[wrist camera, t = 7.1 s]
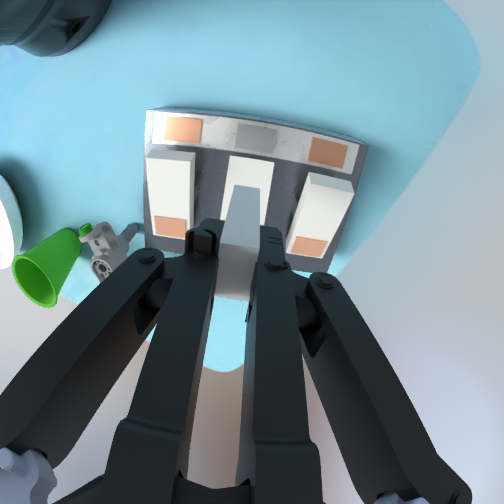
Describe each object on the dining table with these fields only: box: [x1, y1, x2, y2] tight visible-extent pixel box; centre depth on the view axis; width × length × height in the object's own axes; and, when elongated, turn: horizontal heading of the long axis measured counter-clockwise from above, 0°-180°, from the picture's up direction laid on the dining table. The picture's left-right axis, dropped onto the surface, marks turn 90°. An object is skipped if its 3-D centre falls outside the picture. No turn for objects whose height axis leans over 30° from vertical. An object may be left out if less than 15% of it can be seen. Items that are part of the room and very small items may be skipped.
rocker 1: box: [146, 149, 195, 240], centre depth 25 cm, size 9×4×2 cm, turn 171°
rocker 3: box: [286, 172, 355, 258], centre depth 26 cm, size 9×4×2 cm, turn 171°
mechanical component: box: [78, 222, 139, 283], centre depth 31 cm, size 3×10×10 cm, turn 15°
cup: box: [12, 229, 81, 308], centre depth 32 cm, size 9×9×11 cm
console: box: [143, 107, 368, 273], centre depth 29 cm, size 16×22×6 cm
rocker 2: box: [220, 155, 274, 225], centre depth 25 cm, size 9×4×2 cm, turn 172°
